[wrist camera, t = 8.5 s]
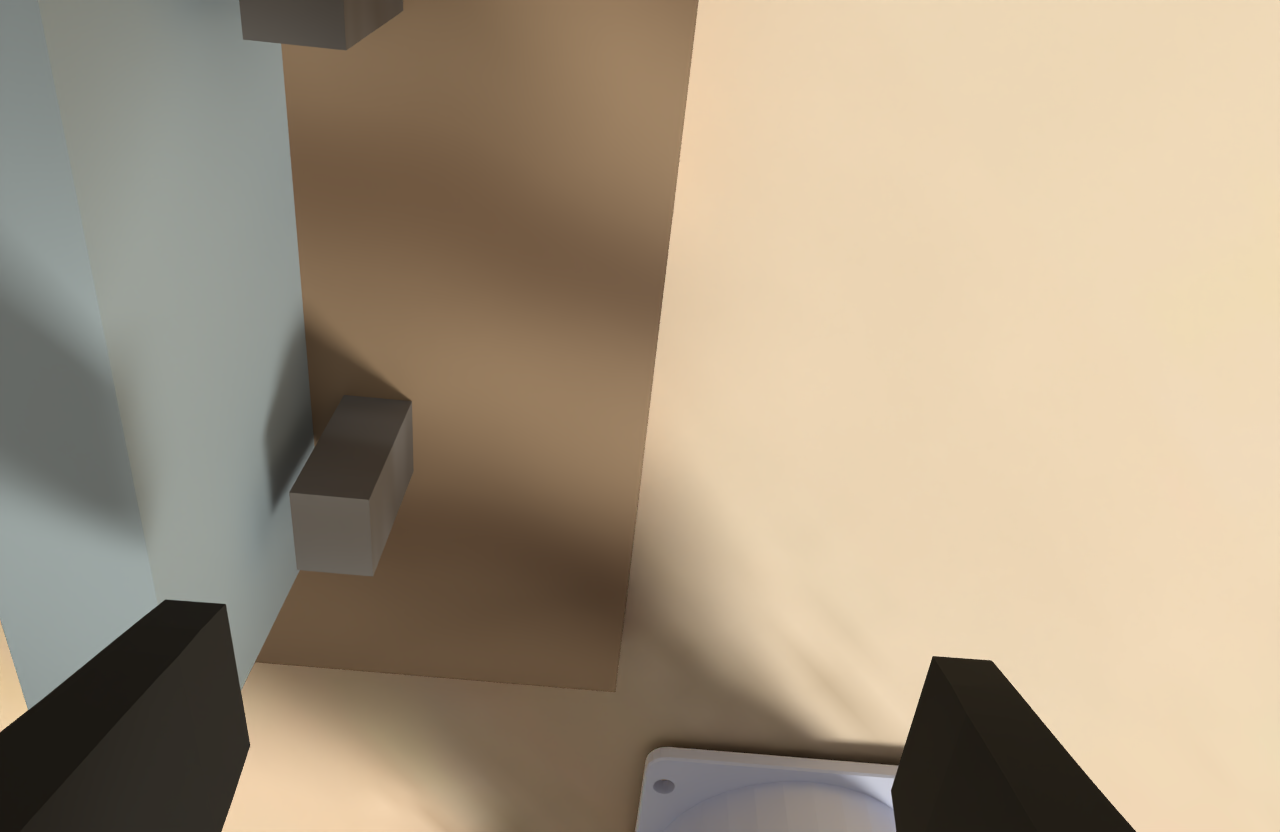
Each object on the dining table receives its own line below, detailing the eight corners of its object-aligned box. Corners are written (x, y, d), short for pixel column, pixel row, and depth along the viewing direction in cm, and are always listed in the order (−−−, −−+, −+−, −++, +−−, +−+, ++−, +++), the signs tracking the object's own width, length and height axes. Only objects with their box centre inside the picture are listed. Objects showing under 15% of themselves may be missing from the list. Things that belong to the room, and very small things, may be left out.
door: (320, 526, 19) (193, 786, 14) (173, 512, 19) (-10, 770, 14) (260, -211, 13) (-11, -241, 8) (40, -237, 13) (-385, -285, 8)
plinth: (617, 642, 22) (609, 812, 18) (80, 597, 22) (-44, 760, 18) (759, -554, 12) (805, -735, 8) (-241, -684, 12) (-685, -939, 8)
